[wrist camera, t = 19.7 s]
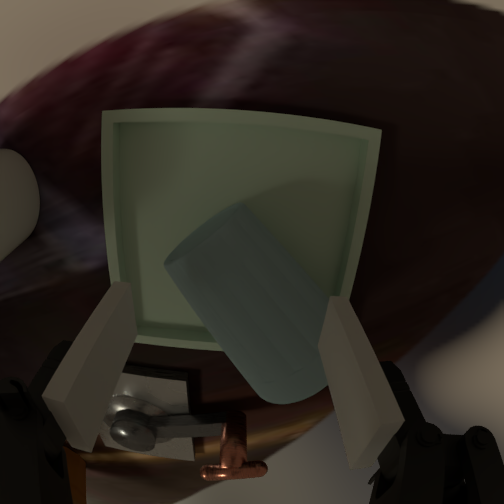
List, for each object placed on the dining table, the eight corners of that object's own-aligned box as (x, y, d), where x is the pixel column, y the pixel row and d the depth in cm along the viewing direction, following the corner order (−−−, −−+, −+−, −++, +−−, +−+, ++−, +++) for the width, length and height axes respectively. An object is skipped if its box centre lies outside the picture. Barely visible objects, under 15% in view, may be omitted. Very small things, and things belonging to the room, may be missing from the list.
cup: (263, 178, 19) (342, 299, 22) (171, 242, 21) (257, 344, 24) (257, 210, 12) (366, 370, 15) (128, 298, 14) (250, 419, 17)
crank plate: (107, 439, 33) (105, 446, 32) (73, 354, 26) (68, 363, 25) (195, 453, 33) (194, 462, 32) (187, 372, 27) (185, 382, 26)
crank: (128, 434, 30) (114, 484, 23) (107, 409, 28) (88, 461, 21) (268, 426, 29) (273, 485, 22) (258, 397, 27) (262, 463, 20)
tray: (128, 324, 25) (120, 340, 23) (115, 111, 18) (102, 110, 16) (327, 336, 26) (333, 353, 24) (368, 128, 19) (381, 129, 17)
